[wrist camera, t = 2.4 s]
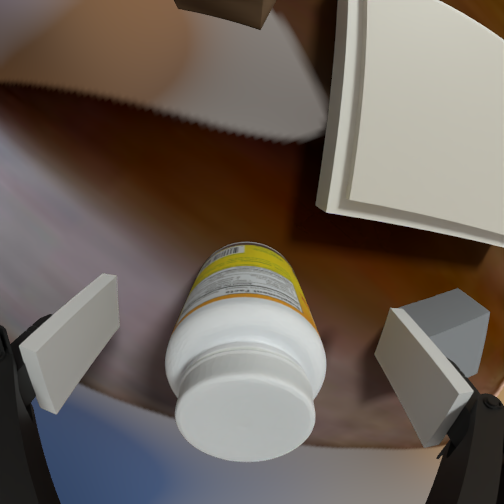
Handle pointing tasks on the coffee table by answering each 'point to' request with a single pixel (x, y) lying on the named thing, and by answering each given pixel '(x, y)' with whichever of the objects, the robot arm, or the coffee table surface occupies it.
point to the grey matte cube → (453, 326)
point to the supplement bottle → (245, 357)
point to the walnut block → (231, 10)
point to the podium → (416, 120)
